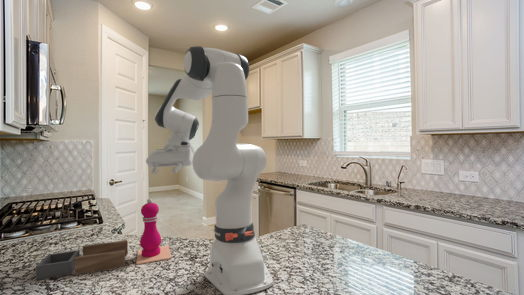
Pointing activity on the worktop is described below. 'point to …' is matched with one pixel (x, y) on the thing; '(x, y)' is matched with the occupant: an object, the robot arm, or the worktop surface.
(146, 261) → the terracotta board
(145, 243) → the pepper mill
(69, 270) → the box
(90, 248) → the walnut channel
